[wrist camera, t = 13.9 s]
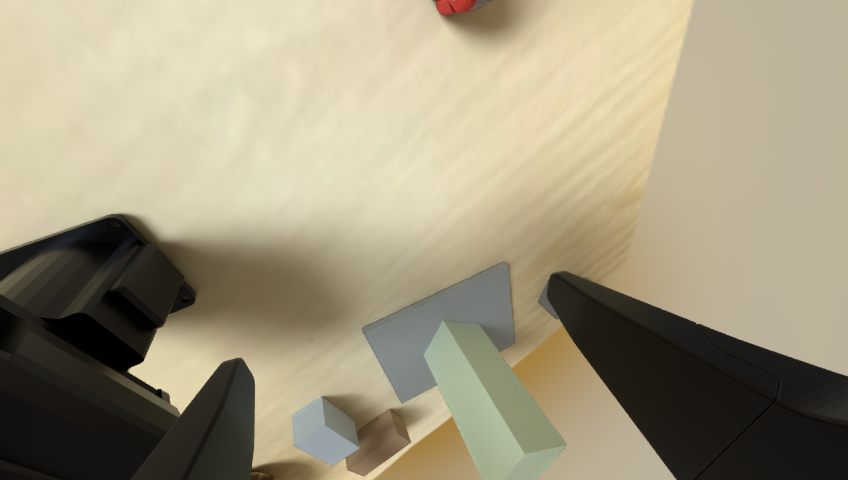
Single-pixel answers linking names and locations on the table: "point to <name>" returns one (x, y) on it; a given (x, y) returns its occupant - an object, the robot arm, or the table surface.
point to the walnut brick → (378, 443)
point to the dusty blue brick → (324, 432)
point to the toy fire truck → (458, 5)
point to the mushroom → (260, 476)
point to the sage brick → (491, 405)
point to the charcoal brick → (546, 304)
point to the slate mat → (417, 325)
